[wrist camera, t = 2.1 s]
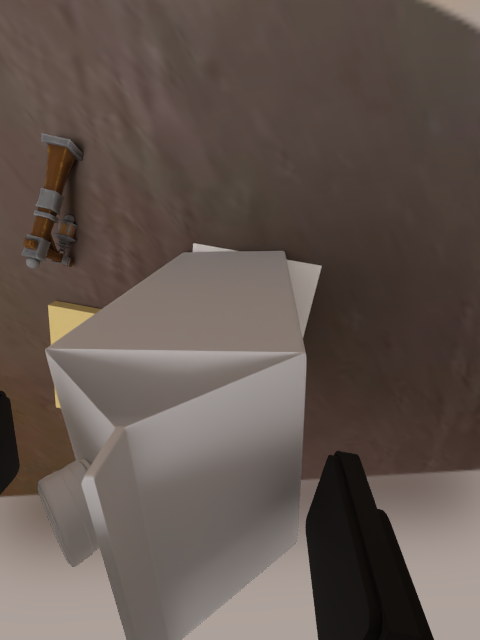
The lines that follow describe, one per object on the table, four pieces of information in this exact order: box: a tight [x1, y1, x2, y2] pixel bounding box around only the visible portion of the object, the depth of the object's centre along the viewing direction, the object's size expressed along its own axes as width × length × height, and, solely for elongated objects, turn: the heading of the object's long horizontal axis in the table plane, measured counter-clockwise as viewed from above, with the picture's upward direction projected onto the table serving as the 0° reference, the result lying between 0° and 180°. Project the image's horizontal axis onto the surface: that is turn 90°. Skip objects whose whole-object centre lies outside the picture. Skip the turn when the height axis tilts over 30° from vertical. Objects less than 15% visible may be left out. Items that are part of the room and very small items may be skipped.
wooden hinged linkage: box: [21, 133, 84, 268], centre depth 21 cm, size 2×8×4 cm, turn 169°
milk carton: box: [38, 251, 306, 640], centre depth 15 cm, size 7×7×19 cm
